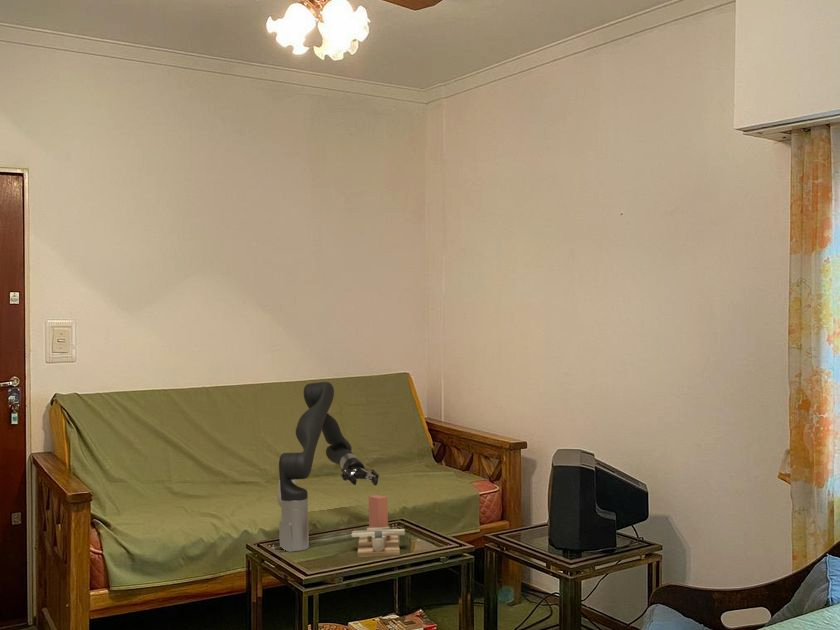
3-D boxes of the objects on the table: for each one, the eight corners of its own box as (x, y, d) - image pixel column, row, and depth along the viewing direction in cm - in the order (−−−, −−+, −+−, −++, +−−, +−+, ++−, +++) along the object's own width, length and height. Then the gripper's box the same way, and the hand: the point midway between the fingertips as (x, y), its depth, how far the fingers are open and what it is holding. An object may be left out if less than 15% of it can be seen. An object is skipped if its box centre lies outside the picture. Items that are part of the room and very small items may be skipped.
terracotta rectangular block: (388, 535, 313) (387, 497, 313) (378, 537, 310) (377, 498, 311) (378, 532, 318) (377, 494, 319) (369, 533, 316) (368, 496, 317)
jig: (405, 555, 282) (405, 534, 282) (351, 557, 281) (350, 536, 281) (403, 536, 310) (403, 517, 310) (354, 538, 309) (353, 519, 309)
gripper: (336, 456, 332) (350, 473, 318) (370, 457, 339) (384, 474, 324) (333, 474, 334) (346, 491, 319) (366, 475, 340) (381, 492, 326)
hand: (365, 482), depth 322 cm, fingers open, 8 cm apart
